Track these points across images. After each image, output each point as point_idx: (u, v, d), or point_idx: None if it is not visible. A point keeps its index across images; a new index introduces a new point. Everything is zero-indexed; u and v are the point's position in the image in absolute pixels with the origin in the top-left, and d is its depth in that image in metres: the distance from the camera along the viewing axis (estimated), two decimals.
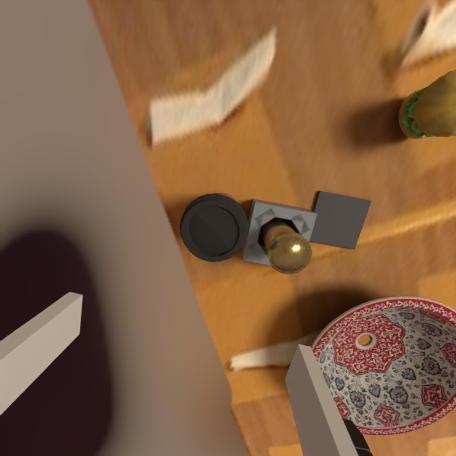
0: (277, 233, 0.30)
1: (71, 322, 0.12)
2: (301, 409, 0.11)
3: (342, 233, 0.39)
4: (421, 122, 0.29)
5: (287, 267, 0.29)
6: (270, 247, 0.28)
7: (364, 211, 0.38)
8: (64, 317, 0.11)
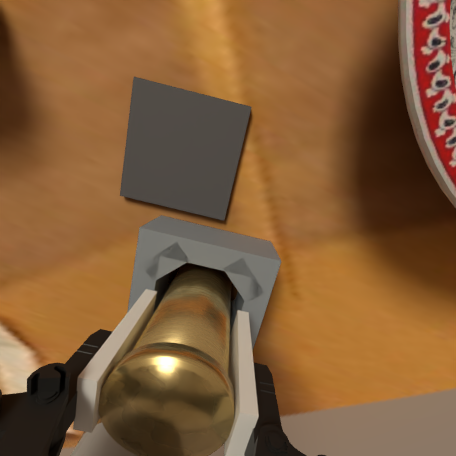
0: None
1: (149, 314, 0.14)
2: (231, 360, 0.13)
3: (210, 140, 0.17)
4: None
5: (211, 422, 0.09)
6: None
7: (159, 91, 0.16)
8: (148, 309, 0.13)
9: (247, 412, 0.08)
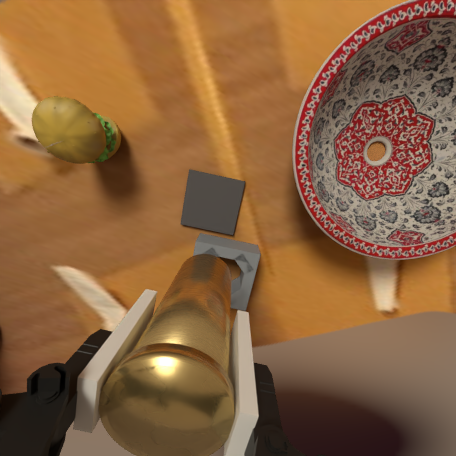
0: None
1: (149, 314, 0.14)
2: (231, 360, 0.13)
3: (225, 197, 0.35)
4: (93, 158, 0.28)
5: (211, 423, 0.09)
6: None
7: (201, 175, 0.34)
8: (148, 310, 0.13)
9: (247, 412, 0.08)
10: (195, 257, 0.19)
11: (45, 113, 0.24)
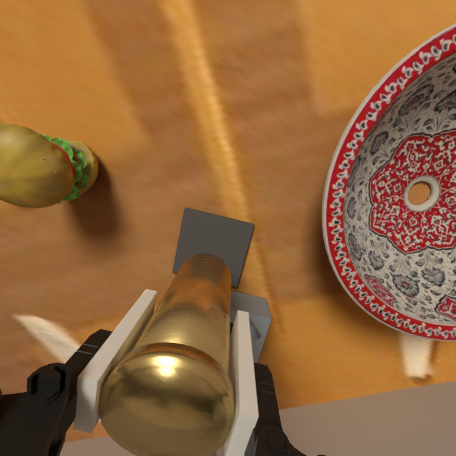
0: None
1: (149, 314, 0.14)
2: (231, 360, 0.13)
3: (229, 242, 0.28)
4: (56, 202, 0.21)
5: (211, 422, 0.09)
6: None
7: (199, 216, 0.27)
8: (148, 309, 0.13)
9: (247, 412, 0.08)
10: (195, 257, 0.19)
11: None
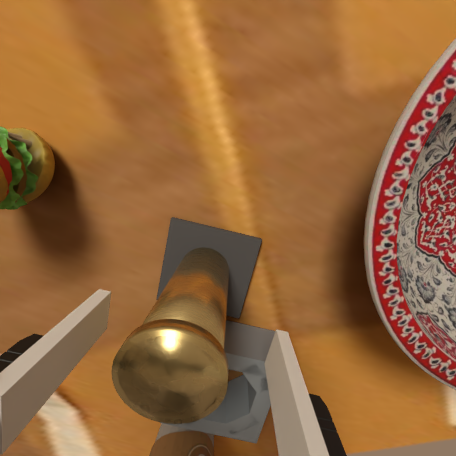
0: None
1: (101, 317, 0.13)
2: (275, 387, 0.12)
3: (229, 262, 0.22)
4: None
5: (208, 387, 0.10)
6: (153, 417, 0.11)
7: (190, 228, 0.21)
8: (97, 312, 0.12)
9: None
10: (195, 250, 0.21)
11: None
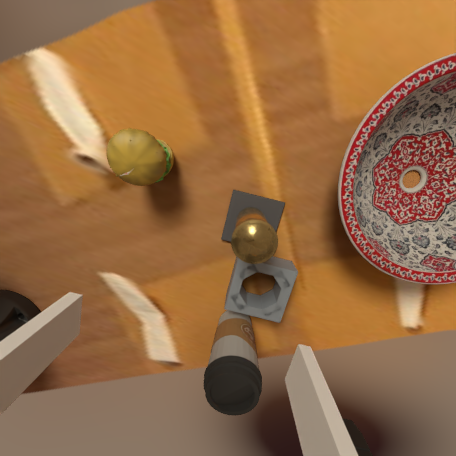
0: None
1: (71, 322, 0.12)
2: (301, 408, 0.11)
3: (265, 216, 0.38)
4: None
5: (269, 245, 0.26)
6: (245, 261, 0.27)
7: (244, 195, 0.37)
8: (64, 317, 0.11)
9: None
10: (247, 208, 0.37)
11: (122, 145, 0.26)
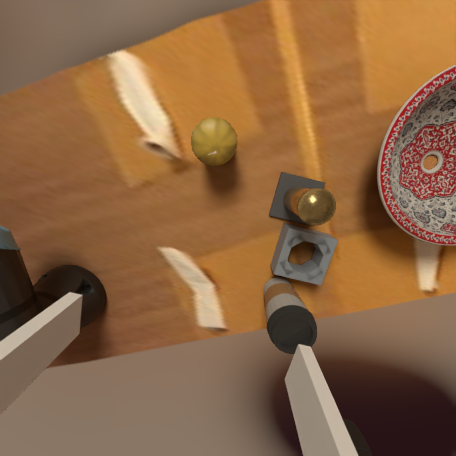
0: (297, 212, 0.36)
1: (71, 322, 0.12)
2: (301, 409, 0.11)
3: None
4: (225, 162, 0.37)
5: (329, 209, 0.33)
6: (308, 223, 0.34)
7: (290, 177, 0.44)
8: (64, 317, 0.11)
9: None
10: (293, 187, 0.43)
11: (209, 130, 0.33)
